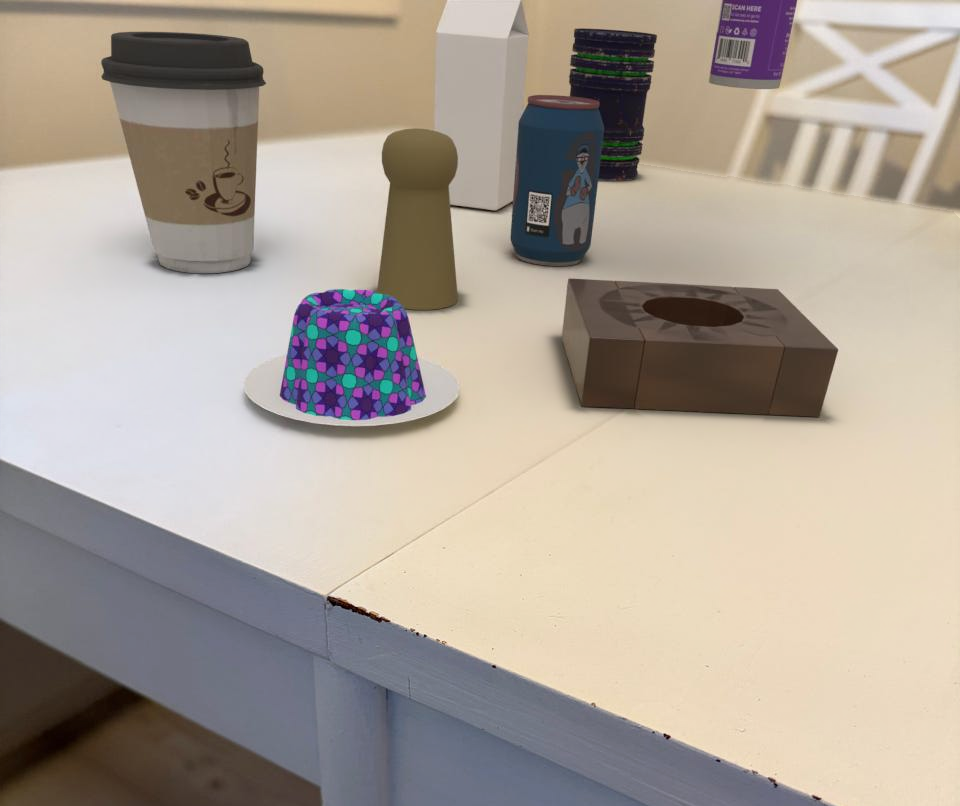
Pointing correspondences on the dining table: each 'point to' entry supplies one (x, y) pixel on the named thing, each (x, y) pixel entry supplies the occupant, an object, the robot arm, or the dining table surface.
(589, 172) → the soda can
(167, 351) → the dining table surface
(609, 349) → the socket board
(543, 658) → the dining table surface
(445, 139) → the cork
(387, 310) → the pudding
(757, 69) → the container
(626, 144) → the black striped cylinder
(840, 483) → the dining table surface
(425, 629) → the dining table surface
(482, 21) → the milk carton
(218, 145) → the coffee cup
